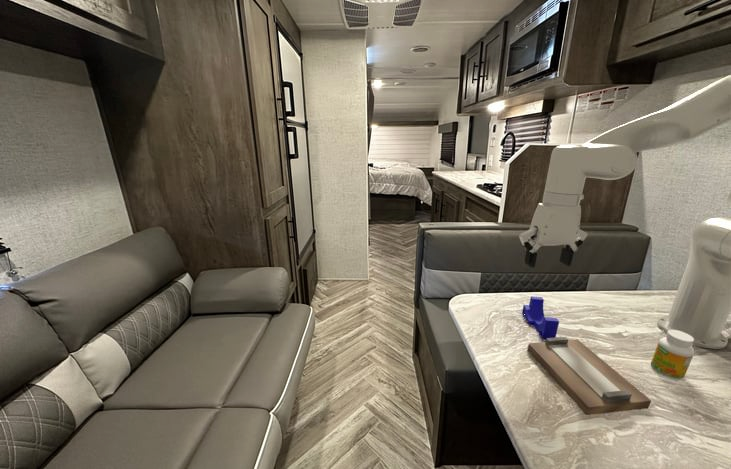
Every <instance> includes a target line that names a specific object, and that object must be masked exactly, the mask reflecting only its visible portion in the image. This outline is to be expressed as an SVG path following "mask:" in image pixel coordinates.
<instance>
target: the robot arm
mask: <svg viewBox="0 0 731 469" xmlns="http://www.w3.org/2000/svg"><path fill="white" fill-rule="evenodd" d="M729 122H731V74H729V75H727V76H725V77H723V78H720V79H718V80H717V81H714V82H712V83H710V84H709V85H708V86H705V87H703V88H702V89H699V90H698V91H696V92H693V93H692V94H690V95H689V96H686V97H684V98H682V99H681V100H679V101H677V102H675V103H673V104H671V105H669V106H668V107H665V108H663V109H661V110H659V111H656V112H653V113H650V114H648V115H645V116H642V117H640V118H637V119H635V120H631V121H629V122H627V123H625V124H622V125H620V126H618V127H615V128H612V129H610V130H608V131H605V132H604V133H601V134H599V135H598V136H596V137H594V138H592V139H590V140H589V141H587V142H585V143H583V144H582V145H579V144H578V145H575V144H574V145H573V144H571V145H570V144H569V145H557V146H556V147H554V148H553V149H552V152H551V155H550V160H549V161H550V162H549V164H548V171H547V176H546V181H545V186H544V191H543V196H542V202H539V203H538V204H537V207H536V209H535V211H534V213H533V217H532V218H531V223H530V226H529V229H527V230H526V231H523V232H521V233H520V234H519V240H520V244H521V245H522V246H523V247H524V249H525V251H526V252H525V257H524V263H525V264H524V265H527V266H528V267H530V268H535V267H536V262H537V257H538V252H537V251H538V250H539V249H540V248H541V247H542V246H547V247H548V246H562V248H561V252H560V253H561V254H560V257H559V262H560V263H562V264H563V265H565V266H567V267H570V266H571V265H572V262H573V258H574V253H575V252H577V251H578V248H579V247H580V246H581V245H583V242H584V241H585V240H586V238H587V237H588V235H589V234H588V232H585V231H584V230H583V229H580V226H581V218H582V208H581V206H582V205H580V204H581V200H584V198H585V196H584V193H583V191H584V190H583V189H584V186H585V182H586V179H587V178H589V179H590V178H591V179H597V180H598V179H600V180H607V181H612V180H619V179H622V178H625V177H627V176H629V175H630V174H632V173H633V171H634V170H636V167H637V166H638V162H639V159H638V155H637V153H639V152H644V151H651V150H656V149H658V150H659V149H664V148H670V147H673V146H678V145H682V144H685V143H688V142H690V141H692V140H694V139H696V138H698V137H700V136H702V135H704V134H706V133H708V132H710V131H712V130H714V129H716V128H718V127H720V126H722V125H724V124H726V123H729ZM726 205H727V207H729V208H730V209H731V190H730V191H729V193H728V195H727V197H726ZM691 234H692V235H691V237H690V252H689V256H688V262H687V264H686V267H685V270H684V272H683V276H682V278H681V280H680V284H679V285H678V289H677V291H676V293H675V295H674V296H675V297H674V300H673V302H672V305H671V308H670V310H669V313H668V315H664V316H660V317H658V319H657V326H658V327H659V328H660V330H662V331H663V332H664V333H665V334H667V332H668V330H678V331H681V332H684V333H686V334H688V335H690V336H692V337H693V338H694V342H693V345H692V346H695V347H699V348H700V347H701V348H706V349H713V350H718V349H719V350H720V349H724V348H726V347H727V345H728V343H729V341H728V339H727V338H726V336H725V335H724V334H723V331H724V330H727V329H728V330H729V329H730V330H731V320H728V318H729V316H730V314H731V217H729V216H728V217H727V216H717V217H710V218H708V219H705V220H703V221H701V222H700V223H698V224H697V225H696V227H695V228H694V230H693V231H692V233H691ZM563 246H564V247H563Z"/></svg>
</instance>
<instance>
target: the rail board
mask: <svg viewBox="0 0 731 469" xmlns="http://www.w3.org/2000/svg"><path fill="white" fill-rule="evenodd" d="M527 351H528V352H529V353H530V355H531V356H532V357H533V358H534V359H535V361H536V362H538V363H539V365H540V366H541V367H542V368H543V369H544V370H545V371H546V372H547V373H548V374H549V375H550V377H551V378H552V379H553V380H554V381H555V382H556V384H557V385H558V386H559V387H560V388H561V389H562V390H563V391H564V392H565V394H567V395H568V397H569V398H570V399H571V400H572V401H573V402H574V403H575V404H576V406H577V407H578V408H579V409H580V410H581V411H582V412H583V413H584V414H585V415H586V416H590V415H591V416H593V415H600V414H609V413H616V412H617V413H619V412H628V411H629V412H630V411H638V410H646V409H649V407H650V405H651V402H652V400H651V399H650V398H649V397H647V396H646V395H645V394H644V393H643V392H642V391H640V390H639V389H638V388H637V387H636V386H634V385H633V384H632V383H631V382H629V381H628V380H627V379H626V378H625V377H624V376H622V375H621V374H620V373H618V372H617V371H616V370H615V369H614V368H613V367H611V365H609V364H608V363H607V362H605V361H604V360H603V359H602V358H601V357H599V355H597V354H596V353H595V352H593V351H592V350H591V349H590V348H588V347H587V346H586V345H585V344H584V343H582V341H581V340H579V339H578V338H577V339H568V338H567V337H566V336H559V337H556V338H546V339H545V341H541V342H529V343H528V346H527Z"/></svg>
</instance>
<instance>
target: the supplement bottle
mask: <svg viewBox="0 0 731 469" xmlns="http://www.w3.org/2000/svg"><path fill="white" fill-rule="evenodd" d="M693 342H694V338H693V337H692V336H690V335H688V334H686V333H684V332H681V331H678V330H668V332H667V333H665V336H664V337H662V338H660V339H659V341H658V343H657V346H656V348H655V351H654V354H653V355H652V358H651V361H650V367H651V368H652V370H653V371H654V372H655V373H657V374H658V375H660V376H663V377H664V378H667V379H670V380H674V381H681V380H684V378H685V377H686V374H687V371H688V369H689V367H690V364H691V362H692V360H693V357H694V355H695V350H694V348H693V346H694V345H693Z"/></svg>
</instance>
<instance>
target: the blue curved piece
mask: <svg viewBox="0 0 731 469" xmlns="http://www.w3.org/2000/svg"><path fill="white" fill-rule="evenodd" d="M529 299H530V300H529V303H528V304H523V306H522V311H521V313H522V315H523V317H524V319H525V321H526V322H528V323H527V324H530V325H529V326H534V325H535V326H534V327H535V330H536V332H537V333H538V332H539V333H538V334H539V336H540V338H541V339H542V340H546V338H557V337H556V336H557V332H558V328H559V326H560V325H559V324H560V320H559V319H558V317H548V316H545V313H544V302H545V300H544V298H543V297H541V296H533V295H532V296H530V298H529ZM524 314H525V315H524Z"/></svg>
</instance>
